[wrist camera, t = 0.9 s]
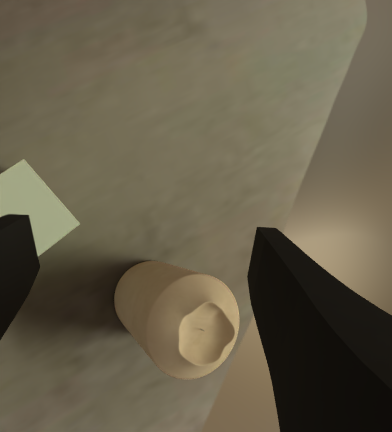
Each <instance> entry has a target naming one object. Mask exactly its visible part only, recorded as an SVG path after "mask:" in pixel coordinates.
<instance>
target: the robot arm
mask: <svg viewBox="0 0 392 432" xmlns="http://www.w3.org/2000/svg"><path fill="white" fill-rule="evenodd" d="M39 268H40V265H39V260H38V255H37V251H36V246H35V241H34V236H33V232H32V227H31V222H30V218H29V215H20V214H7V215H4V216H1V217H0V340H1V338H2V337H3V335H4V333H5V332H6V330H7V329H8V327H9V325H10V324H11V322H12V321H13V319H14V317H15V316H16V314H17V312H18V311H19V309H20V308H21V306H22V304H23V303H24V301H25V299H26V298H27V296H28V294H29V292H30V290H31V287H32V285H33V283H34V281H35V278H36V276H37V273H38V271H39ZM247 277H248V285H249V293H250V300H251V305H252V309H253V313H254V316H255V320H256V324H257V327H258V331H259V335H260V338H261V342H262V345H263V349H264V353H265V356H266V360H267V363H268V367H269V371H270V376H271V380H272V385H273V391H274V396H275V403H276V408H277V414H278V420H279V426H280V432H392V315H390V314H388V313H386V312H385V311H383V310H382V309H380V308H378V307H377V306H375V305H374V304H372V303H371V302H369V301H368V300H366V299H365V298H363V297H361V296H360V295H358V294H357V293H355V292H354V291H353V290H351V289H349V288H348V287H347V286H345V285H344V284H343V283H341V282H340V281H339V280H337V279H336V278H335V277H334V276H332V275H331V274H329V273H328V272H327V271H326V270H325V269H323V268H322V267H321V266H320V265H318V264H317V263H316V262H315V261H313V260H312V259H311V258H310V257H309V256H307V254H305V253H304V252H303V251H302V250H301V249H300V248H299V247H297V246H296V245H295V244H294V243H293V242H292V241H291V240H289V239H288V238H287V237H286V236H285V235H284V234H283V233H281V232H280V231H279V230H278V229H276V228H266V227H257V230H256V235H255V240H254V245H253V250H252V255H251V260H250V266H249V271H248V276H247Z"/></svg>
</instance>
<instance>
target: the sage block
mask: <svg viewBox="0 0 392 432" xmlns="http://www.w3.org/2000/svg"><path fill="white" fill-rule="evenodd" d="M7 214H20V215H29V218H30V222H31V227H32V232H33V236H34V241H35V246H36V251H37V255H38V256H40V255H41V254H42V253H43V252H45V251H46V250H47V249H49V248H50V247H51V246H52V245H54V244H55V243H56V242H58V241H59V240H60V239H61V238H63V237H64V236H65V235H67V234H68V233H69V232H70V231H72V230H73V229H74V228H76V227H77V226H78V225H79V224H80V223H79V222H78V221H77V220H76V218H75V217H74V216H73V215H72V214H71V213H70V212H69V210H68V209H67V208H66V207H65V206H64V205H63V204H62V202H61V201H60V200H59V199H58V198H57V197H56V195H55V194H54V193H53V192H52V191H51V190H50V189H49V187H48V186H47V185H46V184H45V183H44V182H43V181H42V179H41V178H40V177H39V176H38V175H37V174H36V173H35V171H34V170H33V169H32V168H31V167H30V166H29V164H28V163H27V162H26V161H25V160H24V159H23V160H22V161H20V162H18V163H17V164H15V165H14V166H12V167H11V168H9V169H8V170H6V171H4V172H3V173H1V174H0V217H1V216H4V215H7Z"/></svg>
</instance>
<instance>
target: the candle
mask: <svg viewBox="0 0 392 432" xmlns="http://www.w3.org/2000/svg"><path fill="white" fill-rule="evenodd" d="M114 305H115V310H116V313H117V315H118V318H119V319H120V321H121V322H122V324H123V325H124V326H125V327H126V329H127V330H128V331H129V332H130V334H131V335H132V336H133V337H134V339H135V340H136V341H137V342H138V344H139V345H140V346H141V347H142V348H143V350H144V351H145V352H146V353H147V355H148V356H149V357H150V358H151V360H152V361H153V362H154V363H155V364H156V366H157V367H158V368H159V369H160V370H162V371H163V372H164V373H166V374H167V375H169V376H171V377H174V378H178V379H187V380H188V379H195V378H199V377H202V376H205V375H207V374H209V373H210V372H212V371H213V370H215V369H216V368H217V367H218V366H219V365H221V364H222V363H223V361H224V360H225V359H226V358H227V356H228V355H229V353H230V352H231V350H232V348H233V346H234V344H235V341H236V338H237V335H238V329H239V311H238V306H237V303H236V300H235V298H234V296H233V294H232V292H231V291H230V290H229V288H228V287H227V286H226V285H225V284H224V283H223V282H221V281H220V280H218V279H217V278H215V277H212V276H210V275H206V274H203V273H199V272H196V271H192V270H188V269H185V268H181V267H178V266H174V265H171V264H167V263H163V262H158V261H146V262H142V263H139V264H137V265H135V266H133V267H131V268H130V269H129V270H128V271H126V272H125V274H124V275H123V276H122V277H121V279H120V280H119V282H118V284H117V287H116V290H115V295H114Z"/></svg>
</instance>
